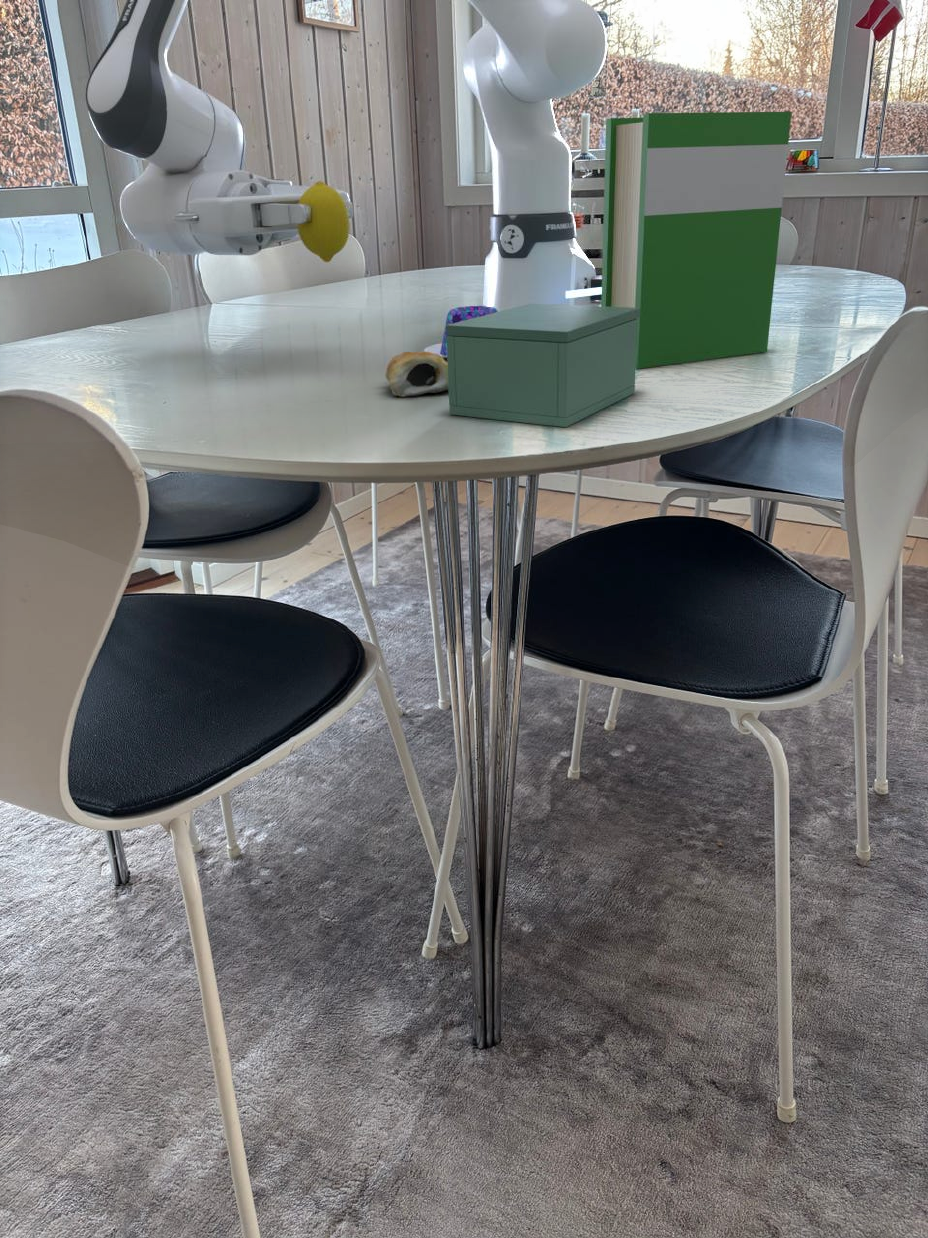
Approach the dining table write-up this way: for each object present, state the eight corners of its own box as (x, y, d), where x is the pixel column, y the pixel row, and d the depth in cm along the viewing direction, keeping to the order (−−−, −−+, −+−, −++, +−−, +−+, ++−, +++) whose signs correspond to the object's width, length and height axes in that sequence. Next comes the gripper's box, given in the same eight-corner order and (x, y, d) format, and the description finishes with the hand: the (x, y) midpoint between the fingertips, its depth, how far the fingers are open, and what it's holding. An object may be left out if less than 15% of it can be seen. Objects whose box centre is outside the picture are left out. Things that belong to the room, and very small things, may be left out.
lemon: (343, 263, 97) (336, 180, 94) (293, 264, 98) (284, 182, 95) (359, 259, 102) (352, 179, 99) (311, 260, 103) (304, 181, 100)
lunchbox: (527, 383, 93) (527, 313, 90) (635, 393, 88) (638, 318, 85) (449, 414, 82) (446, 335, 79) (565, 427, 77) (567, 343, 74)
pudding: (415, 364, 106) (412, 316, 103) (434, 346, 116) (432, 302, 114) (519, 363, 104) (518, 314, 101) (529, 345, 114) (529, 301, 112)
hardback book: (637, 368, 98) (648, 112, 88) (599, 358, 104) (606, 118, 94) (767, 351, 105) (791, 111, 94) (724, 343, 111) (743, 116, 101)
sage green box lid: (529, 312, 91) (529, 303, 90) (640, 317, 85) (640, 307, 85) (446, 335, 79) (445, 325, 79) (567, 342, 74) (567, 331, 73)
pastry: (381, 380, 97) (378, 343, 96) (444, 376, 98) (442, 339, 97) (391, 398, 89) (389, 358, 87) (460, 394, 90) (458, 354, 88)
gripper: (158, 185, 95) (255, 181, 88) (291, 180, 111) (383, 176, 104) (168, 251, 98) (264, 252, 91) (297, 236, 113) (387, 236, 106)
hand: (329, 211), depth 97 cm, fingers closed on lemon, 5 cm apart
